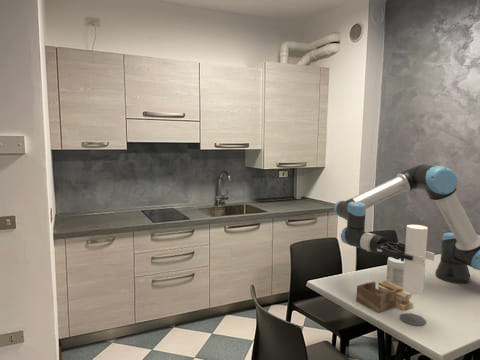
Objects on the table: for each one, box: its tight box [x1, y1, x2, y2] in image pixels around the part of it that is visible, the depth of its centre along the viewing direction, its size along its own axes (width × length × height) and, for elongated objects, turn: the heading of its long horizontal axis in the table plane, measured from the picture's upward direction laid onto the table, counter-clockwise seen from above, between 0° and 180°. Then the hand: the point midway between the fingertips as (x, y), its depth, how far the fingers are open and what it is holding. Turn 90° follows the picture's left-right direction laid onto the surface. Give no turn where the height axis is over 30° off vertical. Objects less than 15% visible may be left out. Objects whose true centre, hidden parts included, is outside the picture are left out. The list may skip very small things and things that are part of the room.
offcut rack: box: [355, 280, 414, 313], centre depth 150 cm, size 17×15×7 cm
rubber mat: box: [399, 312, 427, 327], centre depth 137 cm, size 9×9×1 cm
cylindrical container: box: [403, 224, 429, 295], centre depth 135 cm, size 7×7×25 cm
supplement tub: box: [386, 256, 404, 288], centre depth 164 cm, size 10×10×15 cm
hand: (428, 258), depth 131 cm, fingers closed on cylindrical container, 7 cm apart
